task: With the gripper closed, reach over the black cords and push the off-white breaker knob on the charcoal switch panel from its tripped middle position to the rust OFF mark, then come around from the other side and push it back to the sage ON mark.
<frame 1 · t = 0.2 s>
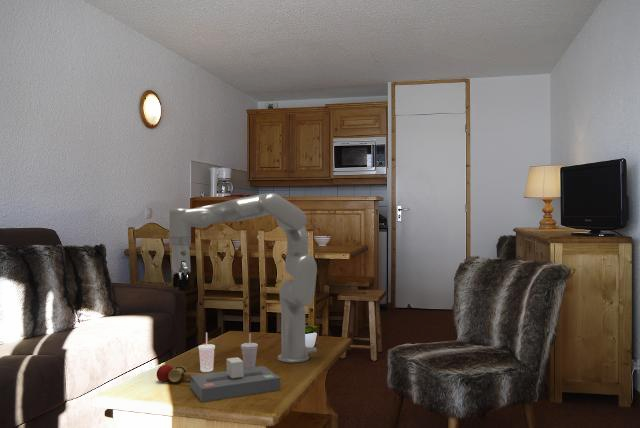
hand: (180, 288, 198), 31 cm above the table, tool pointing down, fingers open, 9 cm apart
switch panel: (235, 388, 181), on the table
breaker knob: (234, 367, 181), point 7 cm above the table, slide at 0.0 cm
smoothie: (249, 371, 201), on the table
beverage cup: (206, 370, 203), on the table
kendama: (182, 382, 189), on the table
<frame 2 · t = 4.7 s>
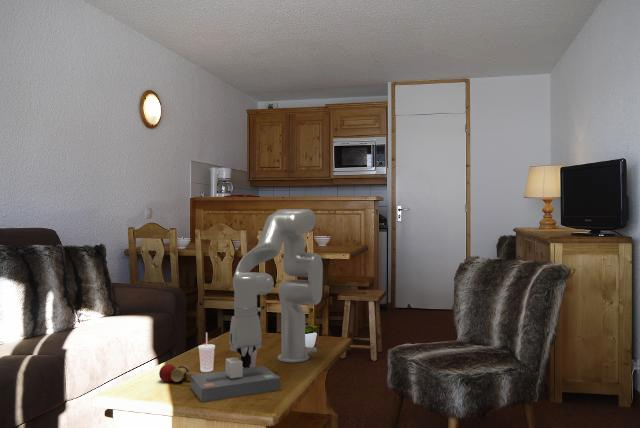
hand: (246, 366, 182), 7 cm above the table, tool pointing down, fingers closed
breaker knob: (233, 367, 180), point 7 cm above the table, slide at 0.4 cm, touching gripper
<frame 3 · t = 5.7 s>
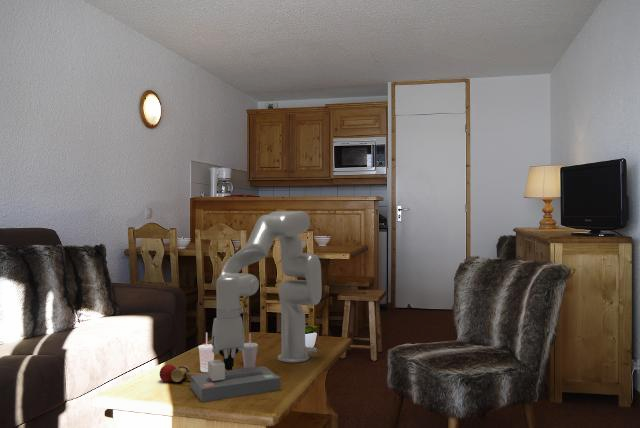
hand: (228, 369, 180), 7 cm above the table, tool pointing down, fingers closed
breaker knob: (216, 370, 178), point 7 cm above the table, slide at 6.3 cm, touching gripper
everything else where it was.
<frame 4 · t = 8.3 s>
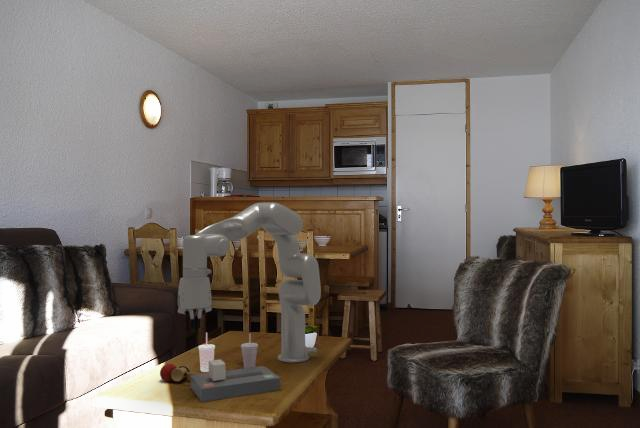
hand: (194, 330, 175), 21 cm above the table, tool pointing down, fingers closed
breaker knob: (216, 369, 178), point 7 cm above the table, slide at 6.1 cm
kendama: (185, 382, 189), on the table, touching switch panel
everything else where it was.
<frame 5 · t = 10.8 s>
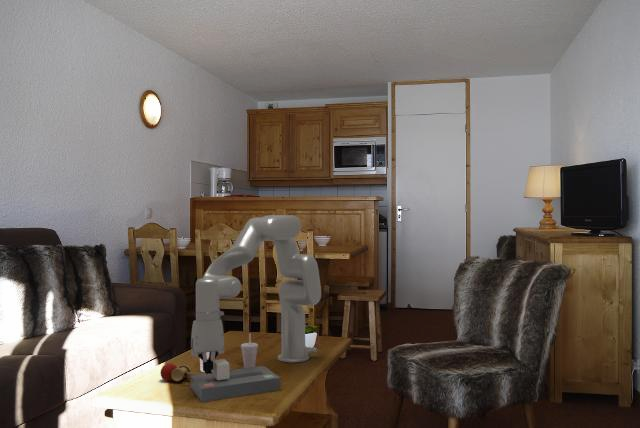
hand: (208, 372, 177), 6 cm above the table, tool pointing down, fingers closed
breaker knob: (220, 369, 178), point 7 cm above the table, slide at 4.7 cm, touching gripper
kendama: (186, 382, 190), on the table
everything else where it was.
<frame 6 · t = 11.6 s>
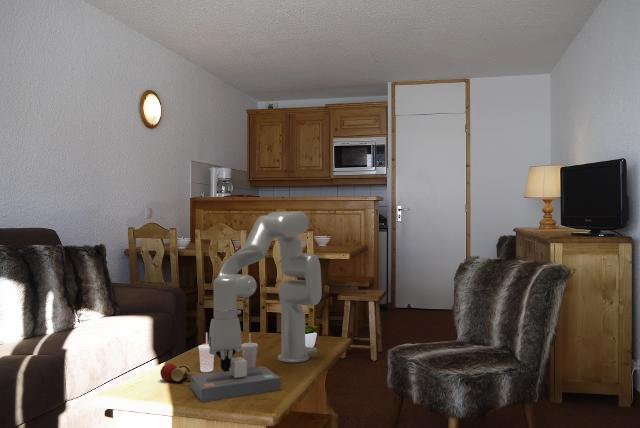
hand: (225, 370, 179), 6 cm above the table, tool pointing down, fingers closed
breaker knob: (238, 367, 181), point 7 cm above the table, slide at -1.1 cm, touching gripper
everything else where it was.
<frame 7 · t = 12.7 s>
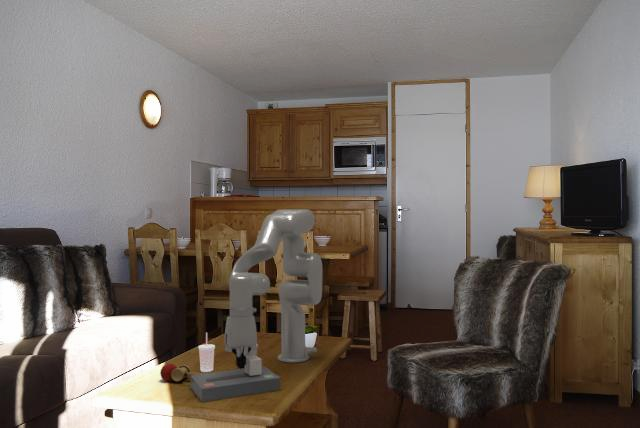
hand: (241, 367, 181), 7 cm above the table, tool pointing down, fingers closed
breaker knob: (252, 365, 183), point 7 cm above the table, slide at -6.3 cm, touching gripper
everything else where it was.
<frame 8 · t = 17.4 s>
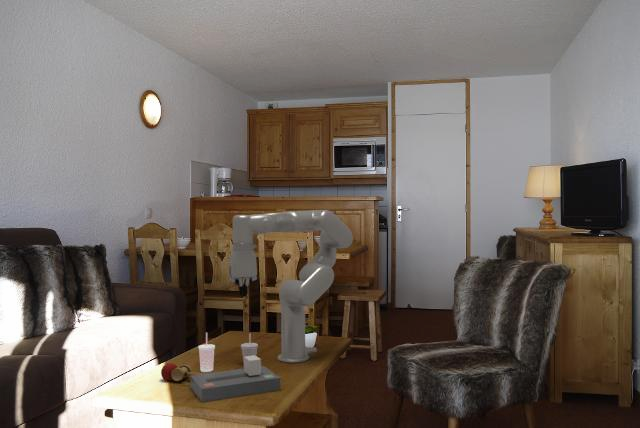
hand: (243, 296, 205), 27 cm above the table, tool pointing down, fingers closed
breaker knob: (252, 365, 183), point 7 cm above the table, slide at -6.1 cm
everything else where it was.
at the end: breaker knob slide at -6.1 cm; kendama moved 1.5 cm from its start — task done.
